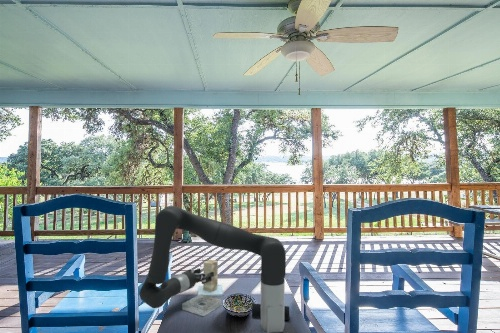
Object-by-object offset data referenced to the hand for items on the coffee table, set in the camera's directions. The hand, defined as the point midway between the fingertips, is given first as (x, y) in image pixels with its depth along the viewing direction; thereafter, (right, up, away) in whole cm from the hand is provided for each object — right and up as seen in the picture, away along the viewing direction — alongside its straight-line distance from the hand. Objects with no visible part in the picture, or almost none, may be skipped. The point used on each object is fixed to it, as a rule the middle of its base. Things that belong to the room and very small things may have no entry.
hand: (206, 272), depth 141 cm
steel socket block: (0, -10, -15) cm, 18 cm away
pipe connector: (+31, -11, -20) cm, 38 cm away
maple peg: (+2, -10, +2) cm, 10 cm away
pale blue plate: (+2, -11, +3) cm, 11 cm away
